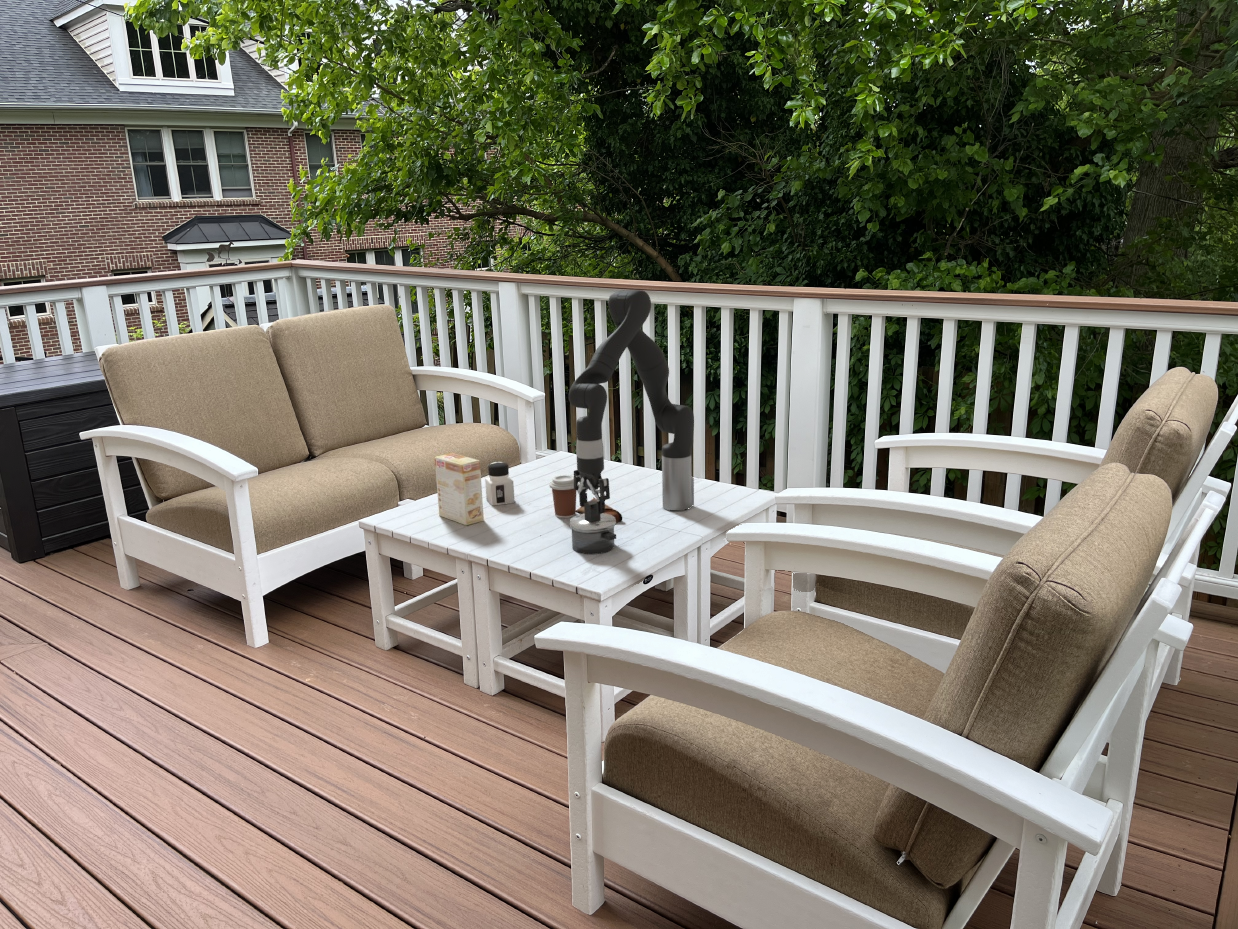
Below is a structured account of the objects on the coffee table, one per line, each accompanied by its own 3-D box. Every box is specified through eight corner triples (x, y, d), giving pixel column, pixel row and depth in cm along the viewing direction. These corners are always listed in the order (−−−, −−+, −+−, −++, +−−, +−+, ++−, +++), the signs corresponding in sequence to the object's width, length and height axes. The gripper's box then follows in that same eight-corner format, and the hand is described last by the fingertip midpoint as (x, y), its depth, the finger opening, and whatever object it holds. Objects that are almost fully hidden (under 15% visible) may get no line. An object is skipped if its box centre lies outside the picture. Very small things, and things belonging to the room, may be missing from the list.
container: (514, 503, 311) (512, 464, 307) (491, 506, 308) (489, 467, 305) (508, 496, 318) (506, 459, 314) (486, 499, 315) (483, 462, 312)
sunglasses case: (572, 510, 301) (581, 491, 301) (589, 517, 305) (598, 499, 305) (598, 526, 286) (608, 506, 286) (616, 533, 290) (625, 514, 290)
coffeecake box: (484, 520, 295) (480, 460, 289) (466, 526, 290) (461, 464, 285) (456, 510, 305) (452, 451, 300) (438, 515, 300) (433, 456, 295)
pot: (592, 533, 281) (591, 510, 279) (631, 550, 266) (630, 527, 264) (556, 542, 274) (555, 519, 272) (594, 561, 259) (593, 537, 257)
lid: (598, 513, 277) (597, 492, 275) (625, 524, 266) (624, 503, 265) (560, 522, 269) (560, 501, 268) (587, 534, 259) (586, 512, 257)
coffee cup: (566, 508, 304) (564, 472, 301) (585, 514, 298) (584, 477, 295) (544, 515, 298) (543, 478, 294) (564, 521, 292) (563, 484, 288)
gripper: (616, 456, 259) (617, 513, 263) (586, 447, 270) (588, 501, 274) (593, 461, 255) (595, 518, 259) (564, 451, 266) (567, 506, 270)
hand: (592, 509), depth 267 cm, fingers open, 8 cm apart
